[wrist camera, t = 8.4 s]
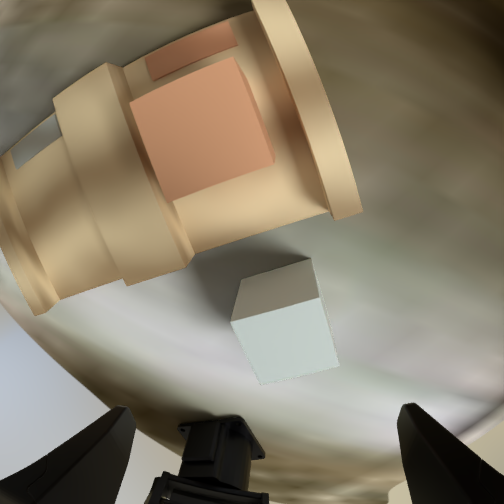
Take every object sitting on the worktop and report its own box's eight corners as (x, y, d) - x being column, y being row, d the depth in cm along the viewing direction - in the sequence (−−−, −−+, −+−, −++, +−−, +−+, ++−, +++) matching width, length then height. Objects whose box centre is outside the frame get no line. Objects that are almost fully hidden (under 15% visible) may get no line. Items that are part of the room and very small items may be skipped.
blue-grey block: (329, 317, 21) (339, 366, 16) (265, 335, 22) (260, 385, 17) (310, 257, 19) (319, 297, 15) (241, 278, 20) (229, 321, 16)
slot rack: (350, 199, 18) (363, 211, 15) (55, 298, 22) (34, 316, 20) (279, 9, 14) (279, -12, 11) (-1, 164, 19) (-27, 170, 16)
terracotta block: (197, 184, 17) (167, 203, 13) (169, 109, 16) (129, 102, 11) (275, 156, 16) (274, 164, 12) (246, 78, 15) (233, 56, 10)
